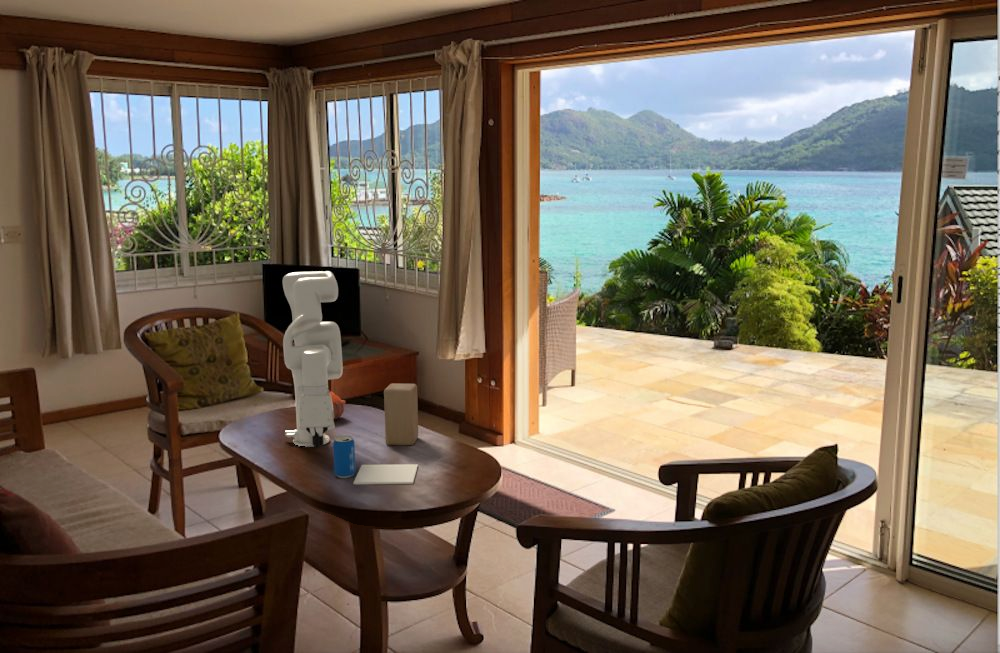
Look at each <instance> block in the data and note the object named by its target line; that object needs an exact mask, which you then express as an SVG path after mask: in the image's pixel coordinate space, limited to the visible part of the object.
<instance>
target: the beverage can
mask: <svg viewBox="0 0 1000 653" xmlns="http://www.w3.org/2000/svg"><path fill="white" fill-rule="evenodd" d="M353 438H354V437H353V436H351V435H340V436H336V437H334V439H333V442H332V447H333V471H334V476H337V477H338V478H340V479H347V478H348V477H349V478H352V477H353V476H354V475H355V474H356V450H355V449H356V448H355V440H354V439H353ZM351 476H352V477H351ZM349 478H348V479H349Z"/></svg>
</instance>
